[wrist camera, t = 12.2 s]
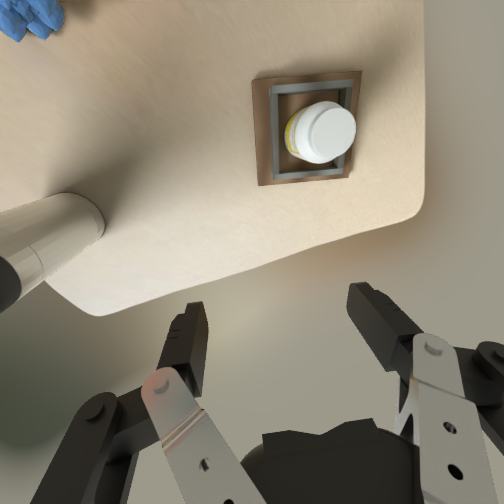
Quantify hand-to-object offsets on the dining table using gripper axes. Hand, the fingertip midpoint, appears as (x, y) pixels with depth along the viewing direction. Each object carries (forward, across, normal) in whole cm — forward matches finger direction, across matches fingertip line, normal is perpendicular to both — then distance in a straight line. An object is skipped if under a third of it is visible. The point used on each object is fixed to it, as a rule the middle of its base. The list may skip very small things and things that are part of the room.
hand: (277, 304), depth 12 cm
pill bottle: (+28, -10, -8) cm, 30 cm away
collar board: (+29, -10, -8) cm, 31 cm away
